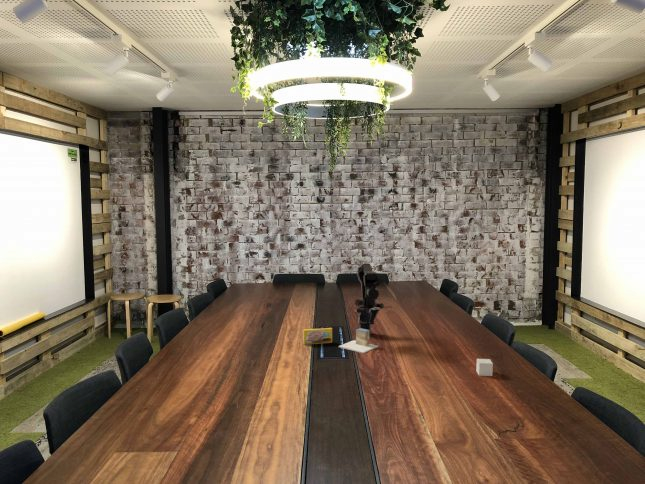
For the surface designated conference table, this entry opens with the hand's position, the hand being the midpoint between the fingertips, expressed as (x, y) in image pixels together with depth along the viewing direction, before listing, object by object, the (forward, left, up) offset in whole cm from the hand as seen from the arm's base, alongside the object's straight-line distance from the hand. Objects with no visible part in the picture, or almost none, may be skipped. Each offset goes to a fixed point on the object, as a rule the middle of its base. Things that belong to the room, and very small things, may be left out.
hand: (370, 323), depth 276 cm
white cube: (+5, +67, -11) cm, 68 cm away
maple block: (+7, 0, -10) cm, 12 cm away
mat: (+11, 0, -11) cm, 16 cm away
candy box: (+20, -21, -11) cm, 31 cm away
